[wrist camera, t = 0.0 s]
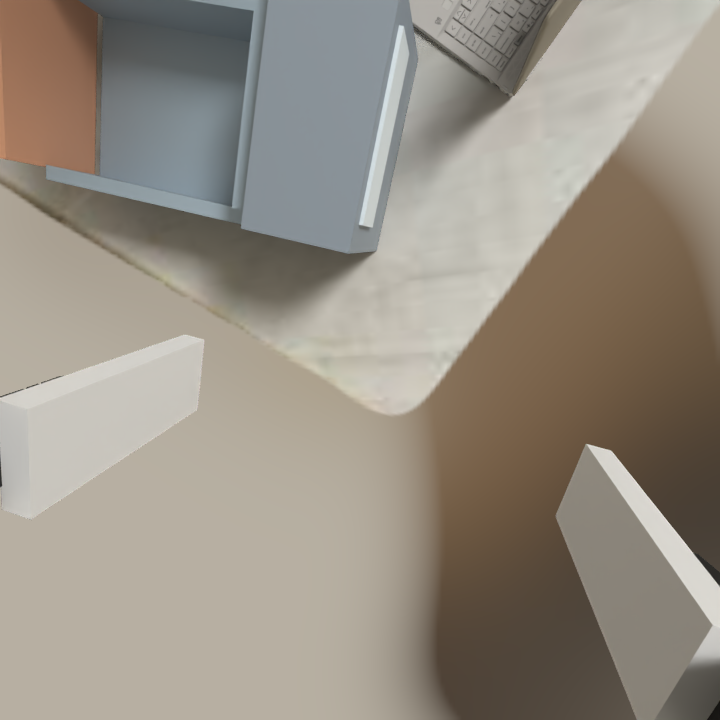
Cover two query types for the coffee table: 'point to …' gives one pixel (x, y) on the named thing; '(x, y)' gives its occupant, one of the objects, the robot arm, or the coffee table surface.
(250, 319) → the coffee table surface
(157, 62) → the grey drawer box
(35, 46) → the panel
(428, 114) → the coffee table surface
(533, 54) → the laptop
